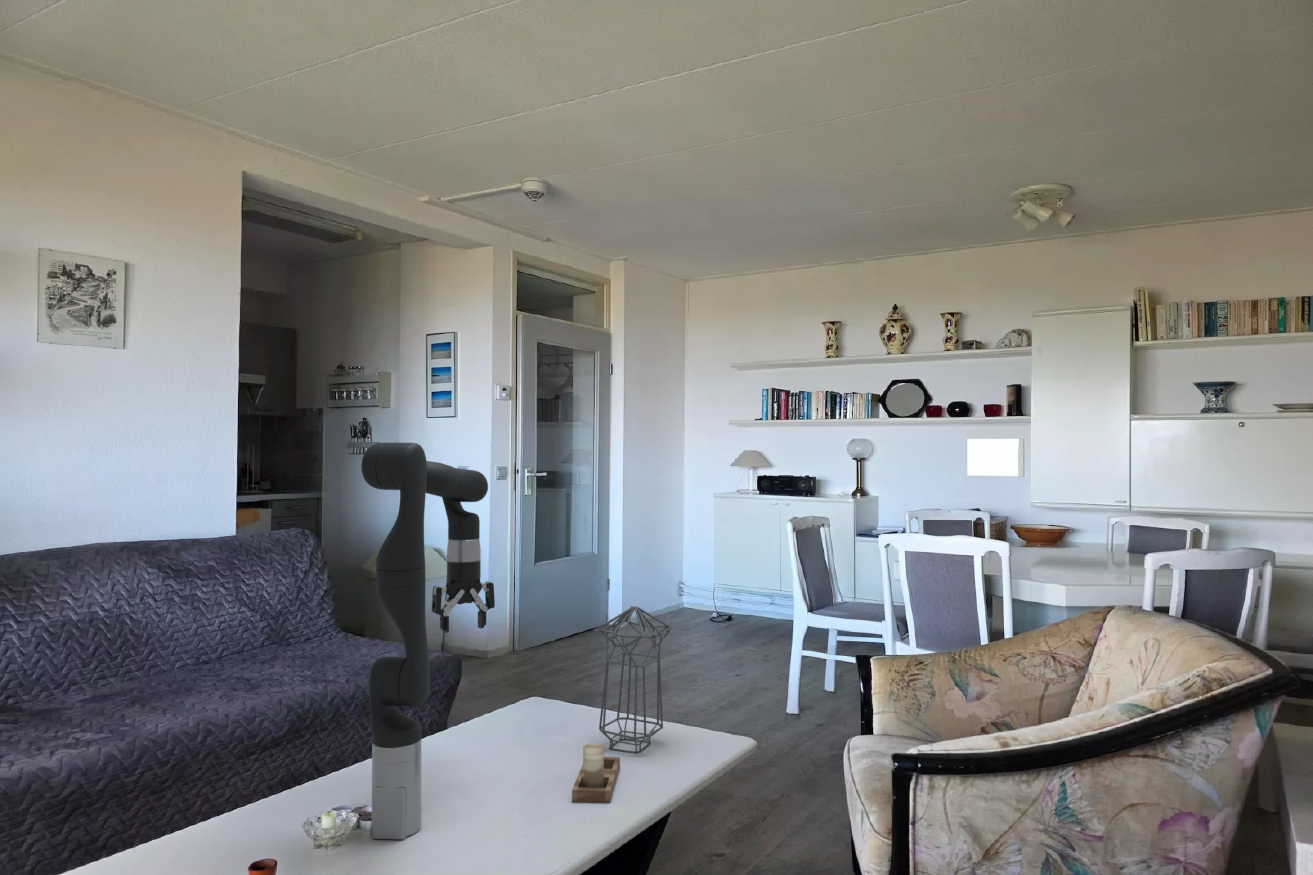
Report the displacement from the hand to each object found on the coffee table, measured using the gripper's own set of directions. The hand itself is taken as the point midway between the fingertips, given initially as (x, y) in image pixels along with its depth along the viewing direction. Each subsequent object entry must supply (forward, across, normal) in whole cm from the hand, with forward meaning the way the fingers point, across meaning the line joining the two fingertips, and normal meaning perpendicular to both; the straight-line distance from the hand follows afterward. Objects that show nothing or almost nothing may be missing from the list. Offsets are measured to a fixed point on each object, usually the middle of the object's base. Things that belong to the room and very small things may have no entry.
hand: (463, 630), depth 195 cm
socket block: (+33, +22, -22) cm, 45 cm away
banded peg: (+33, +19, -26) cm, 46 cm away
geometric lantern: (+33, +43, -6) cm, 54 cm away
